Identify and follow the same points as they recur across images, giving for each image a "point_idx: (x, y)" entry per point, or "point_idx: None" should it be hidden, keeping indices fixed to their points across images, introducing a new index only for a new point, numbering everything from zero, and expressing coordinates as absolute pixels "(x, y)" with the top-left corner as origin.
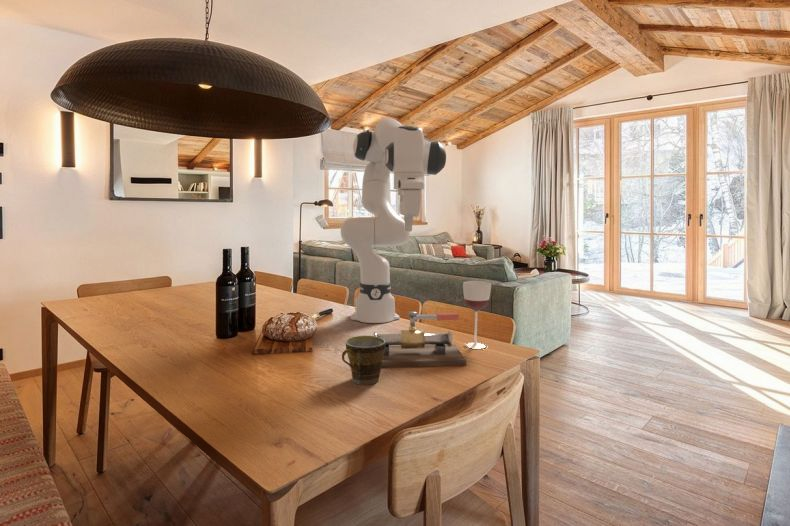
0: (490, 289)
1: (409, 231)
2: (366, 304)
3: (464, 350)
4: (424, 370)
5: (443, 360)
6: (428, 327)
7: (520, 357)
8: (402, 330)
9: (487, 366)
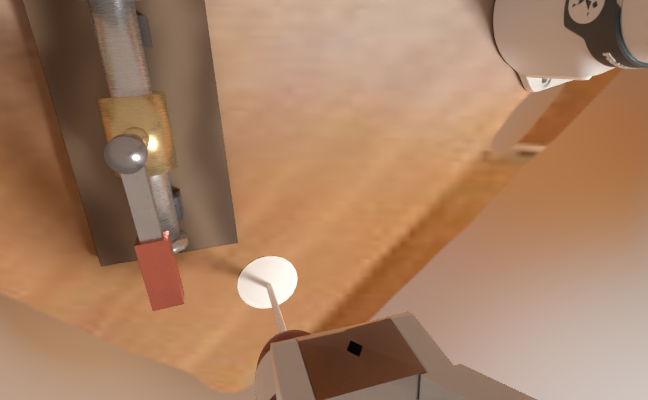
0: None
1: (273, 375)
2: None
3: (230, 258)
4: (36, 154)
5: (85, 211)
6: (435, 173)
7: (187, 369)
8: (130, 102)
9: (105, 305)
